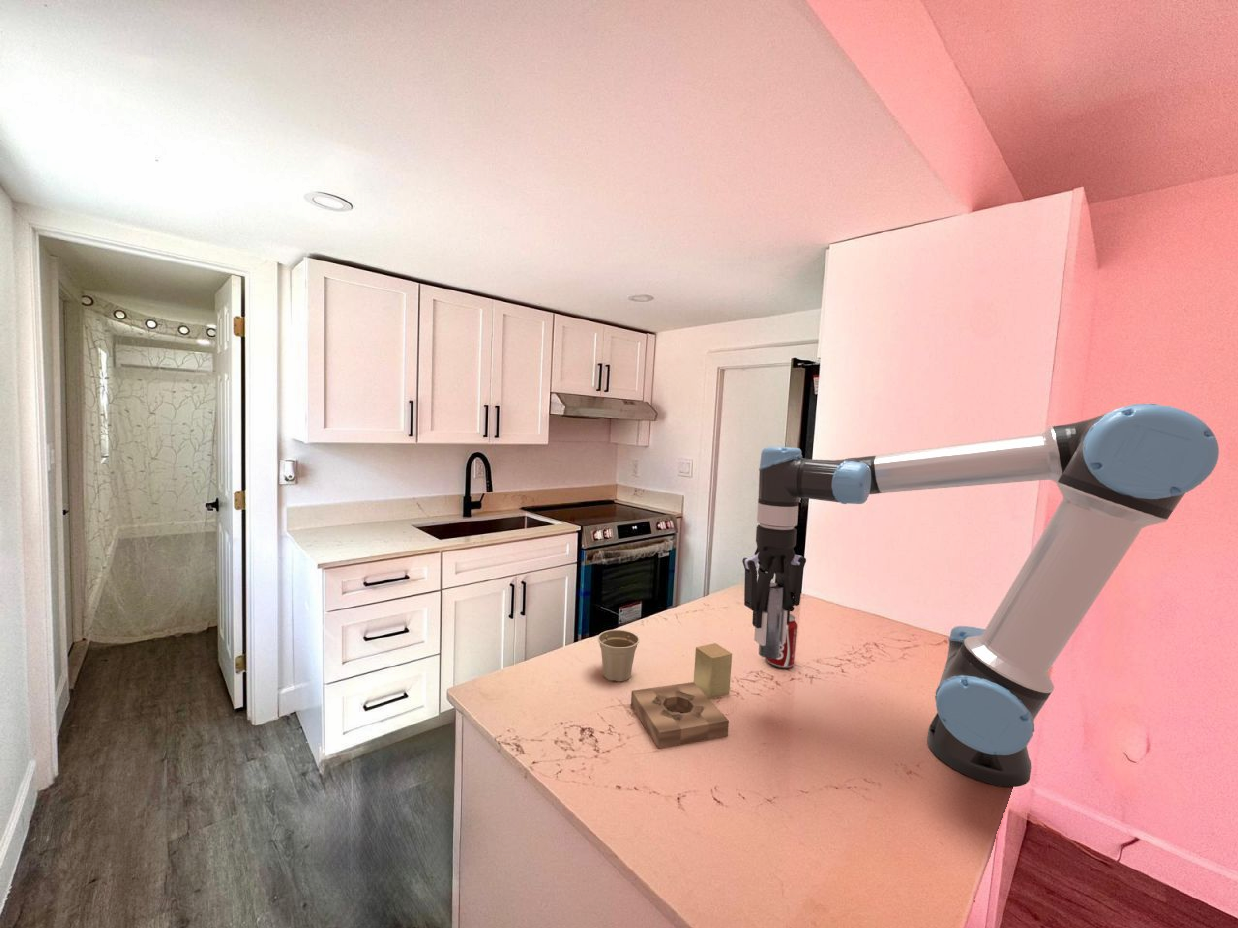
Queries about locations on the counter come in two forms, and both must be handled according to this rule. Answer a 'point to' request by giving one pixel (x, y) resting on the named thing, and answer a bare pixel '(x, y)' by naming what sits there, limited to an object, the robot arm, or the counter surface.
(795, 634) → the soda can
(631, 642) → the flower pot
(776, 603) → the round bit
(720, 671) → the square bit
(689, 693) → the socket block
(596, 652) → the counter surface
